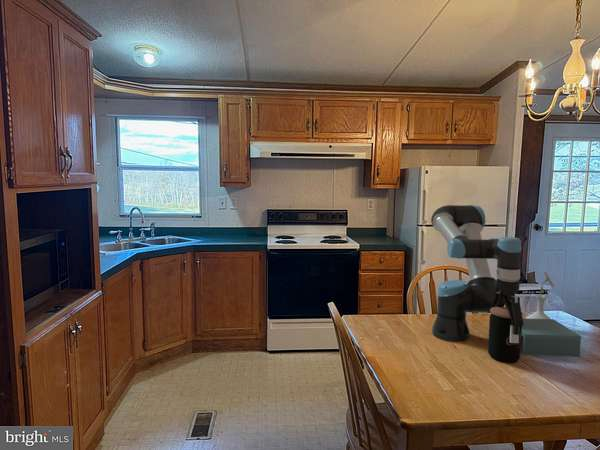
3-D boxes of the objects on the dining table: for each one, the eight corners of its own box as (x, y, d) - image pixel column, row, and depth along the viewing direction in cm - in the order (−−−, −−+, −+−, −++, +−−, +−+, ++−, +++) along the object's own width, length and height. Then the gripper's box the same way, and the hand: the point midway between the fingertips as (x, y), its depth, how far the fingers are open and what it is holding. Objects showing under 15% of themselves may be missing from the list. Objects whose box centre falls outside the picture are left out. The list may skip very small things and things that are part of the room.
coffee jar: (508, 366, 136) (510, 317, 134) (481, 354, 145) (483, 309, 143) (526, 360, 140) (529, 313, 139) (499, 349, 150) (501, 305, 148)
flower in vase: (549, 331, 167) (553, 276, 165) (521, 324, 176) (524, 271, 173) (558, 324, 176) (562, 271, 173) (531, 318, 185) (534, 267, 182)
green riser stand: (524, 354, 145) (525, 334, 144) (503, 336, 163) (504, 318, 162) (579, 356, 143) (581, 335, 143) (551, 337, 161) (553, 319, 160)
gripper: (483, 272, 152) (481, 323, 154) (513, 287, 127) (510, 348, 129) (503, 272, 152) (500, 323, 154) (537, 288, 127) (533, 349, 129)
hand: (505, 335), depth 141 cm, fingers open, 13 cm apart
